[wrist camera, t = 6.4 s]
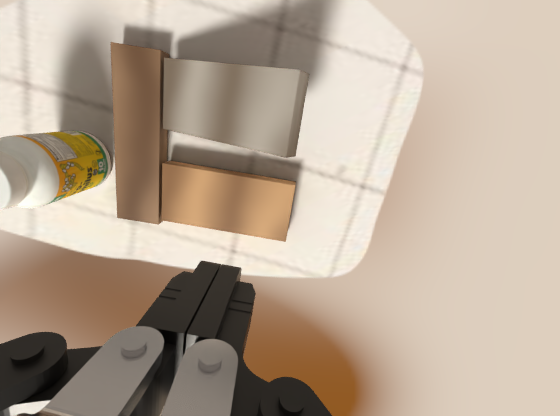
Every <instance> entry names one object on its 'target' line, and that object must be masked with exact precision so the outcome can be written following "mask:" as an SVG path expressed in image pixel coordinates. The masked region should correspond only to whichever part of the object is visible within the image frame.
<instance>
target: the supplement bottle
mask: <svg viewBox="0 0 560 416" xmlns="http://www.w3.org/2000/svg"><path fill="white" fill-rule="evenodd" d="M110 169H111V161H110V156H109V153H108V151H107V149H106V147H105V146H104V145H103V143H102V142H101V141H100V140H99V139H97V138H96V137H95V136H93V135H91V134H89V133H86V132H83V131H61V132H51V133H39V134H27V135H16V136H7V137H2V138H0V211H1V210H4V209H7V208H11V207H14V206H18V207H22V208H36V207H41V206H44V205H47V204H49V203H52V202H55V201H57V200H60V199H63V198H66V197H68V196H71V195H74V194H76V193H79V192H82V191H84V190H87V189H90V188H93V187H95V186H98V185H100V184H102V183H103V182H104V181H105V180H106V179H107V177H108V176H109V173H110Z"/></svg>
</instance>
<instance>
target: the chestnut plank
mask: <svg viewBox="0 0 560 416" xmlns="http://www.w3.org/2000/svg"><path fill="white" fill-rule="evenodd" d="M295 185H296V182H295V181H289V180H283V179H277V178H271V177H265V176H259V175H253V174H247V173H241V172H235V171H229V170H223V169H217V168H211V167H205V166H199V165H193V164H187V163H181V162H175V161H168V162H165V163H162V220H164V221H169V222H175V223H181V224H187V225H192V226H198V227H204V228H210V229H216V230H221V231H227V232H233V233H239V234H244V235H250V236H256V237H262V238H267V239H273V240H279V241H285V242H286V237H287V231H288V225H289V219H290V214H291V208H292V202H293V196H294V191H295Z"/></svg>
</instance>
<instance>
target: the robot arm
mask: <svg viewBox="0 0 560 416" xmlns="http://www.w3.org/2000/svg"><path fill="white" fill-rule="evenodd" d="M240 276H241V268H239V267H234V266H228V265H223V264H222V265H221V264H217V263H212V262H206V261H201V262H200V263H199V265H198V266H197V268H196V269H195V271H194V272H193V273H190V272H185V271H184V272H182V273H180V274H179V275H177V276H175V277H173V278H172V279H171V281H170V282H169V283H168V284H167V286H166V287H165V289H164V290H163V291H162V292H161V294H160V295H159V297H158V298H157V299H156V300H155V302H154V303H153V304H152V306H151V307H150V308H149V309H148V311H147V312H146V313H145V315H144V316H143V317H142V319H141V320H140V321H139V323H138V324H137V325H136V327H131V328H127V329H125V330H122V331H120V332H118V333H116V334H115V335H114V336H112V337H111V338H110V339H109V340H108V341H107V342H106V343H105V344H104V345H103V346H99V347H91V348H80V349H67V343H66V340H65V339H64V337H63V336H61V335H59V334H57V333H53V332H39V333H33V334H28V335H25V336H22V337H19V338H16V339H14V340H11V341H8V342H5V343H2V344H0V416H160V414H161V416H332V415H331V414H330V412H329V411H328V410H327V408H326V407H325V406H324V405H323V403H322V402H321V401H320V399H319V398H318V397H317V395H316V394H315V393H314V391H313V390H312V389H311V388H310V387H309V386H308V385H307V384H305V383H304V382H302V381H300V380H298V379H295V378H292V377H281V378H277V379H274V380H273V381H271V382H267V381H265V380H263V379H261V378H259V377H258V376H256V375H255V374H253V373H252V372H251V371H250V370H249V369H248V367H247V366H246V364H245V362H244V360H243V354H244V350H245V346H246V341H247V336H248V332H249V328H250V322H251V316H252V310H253V305H254V299H255V291H254V289H253V285H252V284H251V283H244V282H240ZM163 407H164V408H163ZM161 412H162V413H161Z"/></svg>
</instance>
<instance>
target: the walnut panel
mask: <svg viewBox="0 0 560 416" xmlns="http://www.w3.org/2000/svg"><path fill="white" fill-rule="evenodd" d="M164 58H169V54H168V53H166V52H164V51H161V50H157V49H151V48H144V47H138V46H132V45H125V44H119V43H113V42H111V65H112V91H113V117H114V143H115V169H116V195H117V218H122V219H128V220H134V221H141V222H147V223H153V224H160V223H161V222H162V221H163V220H162V163H165V162H167V135H168V130H166V129H163V96H164Z"/></svg>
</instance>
